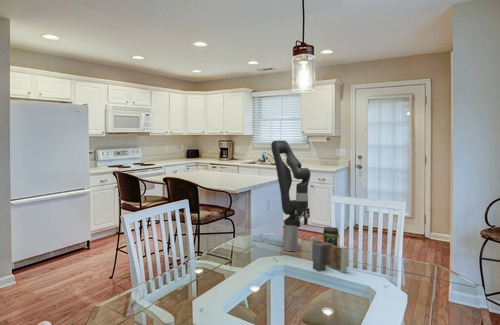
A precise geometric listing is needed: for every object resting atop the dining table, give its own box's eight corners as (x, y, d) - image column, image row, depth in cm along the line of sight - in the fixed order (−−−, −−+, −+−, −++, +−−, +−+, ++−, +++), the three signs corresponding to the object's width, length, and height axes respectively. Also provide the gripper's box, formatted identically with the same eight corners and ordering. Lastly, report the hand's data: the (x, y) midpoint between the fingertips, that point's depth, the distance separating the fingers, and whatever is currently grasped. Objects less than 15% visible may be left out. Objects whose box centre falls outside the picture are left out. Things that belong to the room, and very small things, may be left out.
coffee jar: (338, 255, 213) (339, 226, 212) (337, 259, 205) (338, 229, 204) (322, 253, 215) (323, 225, 215) (321, 257, 208) (322, 228, 207)
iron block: (312, 268, 187) (313, 244, 187) (319, 267, 190) (319, 242, 189) (319, 271, 183) (320, 246, 183) (325, 269, 186) (326, 245, 185)
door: (313, 259, 200) (314, 239, 200) (315, 259, 201) (315, 239, 201) (341, 270, 183) (341, 248, 182) (342, 270, 184) (343, 248, 183)
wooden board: (309, 260, 202) (310, 237, 201) (313, 259, 203) (314, 236, 203) (342, 273, 181) (343, 247, 180) (346, 272, 183) (347, 247, 182)
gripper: (303, 198, 215) (303, 223, 215) (290, 200, 204) (290, 226, 204) (313, 199, 210) (313, 225, 210) (300, 201, 199) (300, 228, 199)
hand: (302, 225), depth 207 cm, fingers open, 8 cm apart
